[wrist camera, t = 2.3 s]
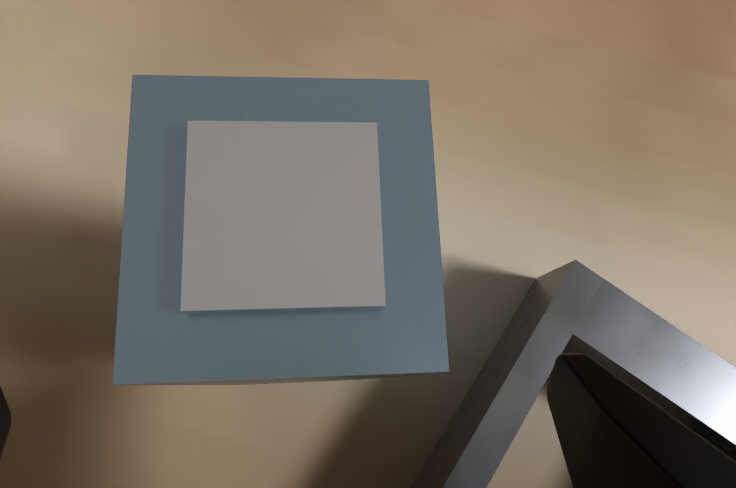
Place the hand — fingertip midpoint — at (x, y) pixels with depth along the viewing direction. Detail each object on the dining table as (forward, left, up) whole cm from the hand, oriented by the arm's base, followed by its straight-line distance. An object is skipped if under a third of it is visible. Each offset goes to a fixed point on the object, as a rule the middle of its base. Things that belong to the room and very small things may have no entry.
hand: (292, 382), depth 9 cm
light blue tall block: (+2, +1, -9) cm, 10 cm away
